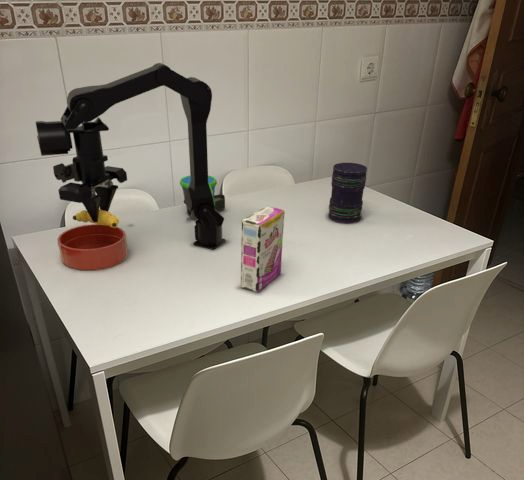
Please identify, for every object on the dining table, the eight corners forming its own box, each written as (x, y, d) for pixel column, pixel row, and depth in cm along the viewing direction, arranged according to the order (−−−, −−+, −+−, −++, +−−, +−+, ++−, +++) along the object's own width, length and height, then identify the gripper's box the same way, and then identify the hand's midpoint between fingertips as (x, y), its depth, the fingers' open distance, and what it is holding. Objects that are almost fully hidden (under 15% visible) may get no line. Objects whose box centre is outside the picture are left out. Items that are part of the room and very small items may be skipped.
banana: (126, 222, 126) (122, 210, 124) (117, 233, 124) (113, 221, 121) (84, 215, 130) (80, 203, 127) (74, 225, 127) (69, 214, 125)
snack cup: (175, 207, 163) (172, 174, 157) (206, 202, 167) (205, 170, 161) (192, 224, 152) (190, 189, 146) (225, 219, 156) (225, 185, 150)
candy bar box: (258, 293, 119) (260, 224, 110) (240, 288, 121) (239, 219, 112) (282, 274, 127) (285, 209, 117) (264, 269, 129) (266, 204, 119)
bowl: (141, 251, 136) (138, 231, 133) (99, 276, 124) (95, 255, 121) (92, 239, 142) (88, 219, 139) (47, 262, 130) (42, 241, 127)
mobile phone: (220, 192, 161) (181, 202, 151) (227, 194, 159) (188, 204, 150) (220, 208, 163) (182, 218, 154) (227, 210, 162) (189, 221, 153)
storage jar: (366, 216, 160) (373, 166, 152) (352, 226, 153) (359, 174, 145) (336, 209, 164) (341, 160, 156) (322, 218, 158) (326, 168, 149)
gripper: (84, 139, 127) (94, 202, 136) (31, 157, 112) (46, 227, 121) (124, 144, 124) (132, 208, 133) (75, 164, 109) (87, 235, 118)
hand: (99, 219), depth 126 cm, fingers closed on banana, 3 cm apart
